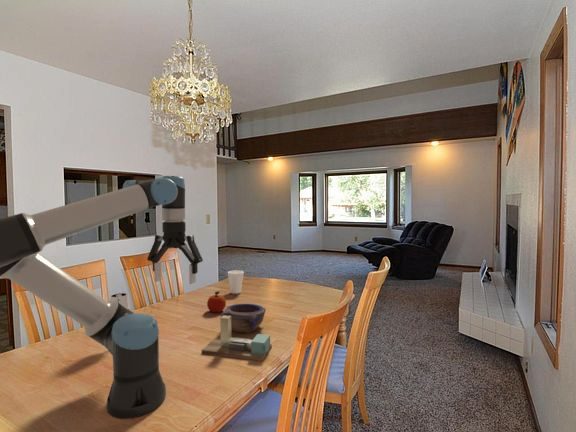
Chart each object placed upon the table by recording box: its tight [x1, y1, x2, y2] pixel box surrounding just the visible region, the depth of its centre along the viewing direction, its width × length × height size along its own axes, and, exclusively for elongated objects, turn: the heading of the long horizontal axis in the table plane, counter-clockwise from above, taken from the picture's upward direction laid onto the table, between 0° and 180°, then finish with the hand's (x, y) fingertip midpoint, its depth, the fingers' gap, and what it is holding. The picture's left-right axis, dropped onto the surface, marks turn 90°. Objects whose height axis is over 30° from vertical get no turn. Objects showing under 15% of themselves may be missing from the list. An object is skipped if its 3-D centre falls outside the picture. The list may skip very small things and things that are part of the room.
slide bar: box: [219, 315, 253, 350], centre depth 121 cm, size 3×17×11 cm, turn 76°
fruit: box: [206, 290, 227, 313], centre depth 166 cm, size 10×10×10 cm
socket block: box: [251, 333, 271, 355], centre depth 120 cm, size 7×5×4 cm
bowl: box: [220, 303, 266, 334], centre depth 142 cm, size 18×18×10 cm
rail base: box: [201, 336, 273, 362], centre depth 122 cm, size 11×24×4 cm, turn 76°
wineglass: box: [109, 292, 131, 311], centre depth 127 cm, size 8×8×20 cm
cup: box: [227, 269, 245, 295], centre depth 199 cm, size 10×10×13 cm
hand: (175, 282), depth 111 cm, fingers open, 13 cm apart
